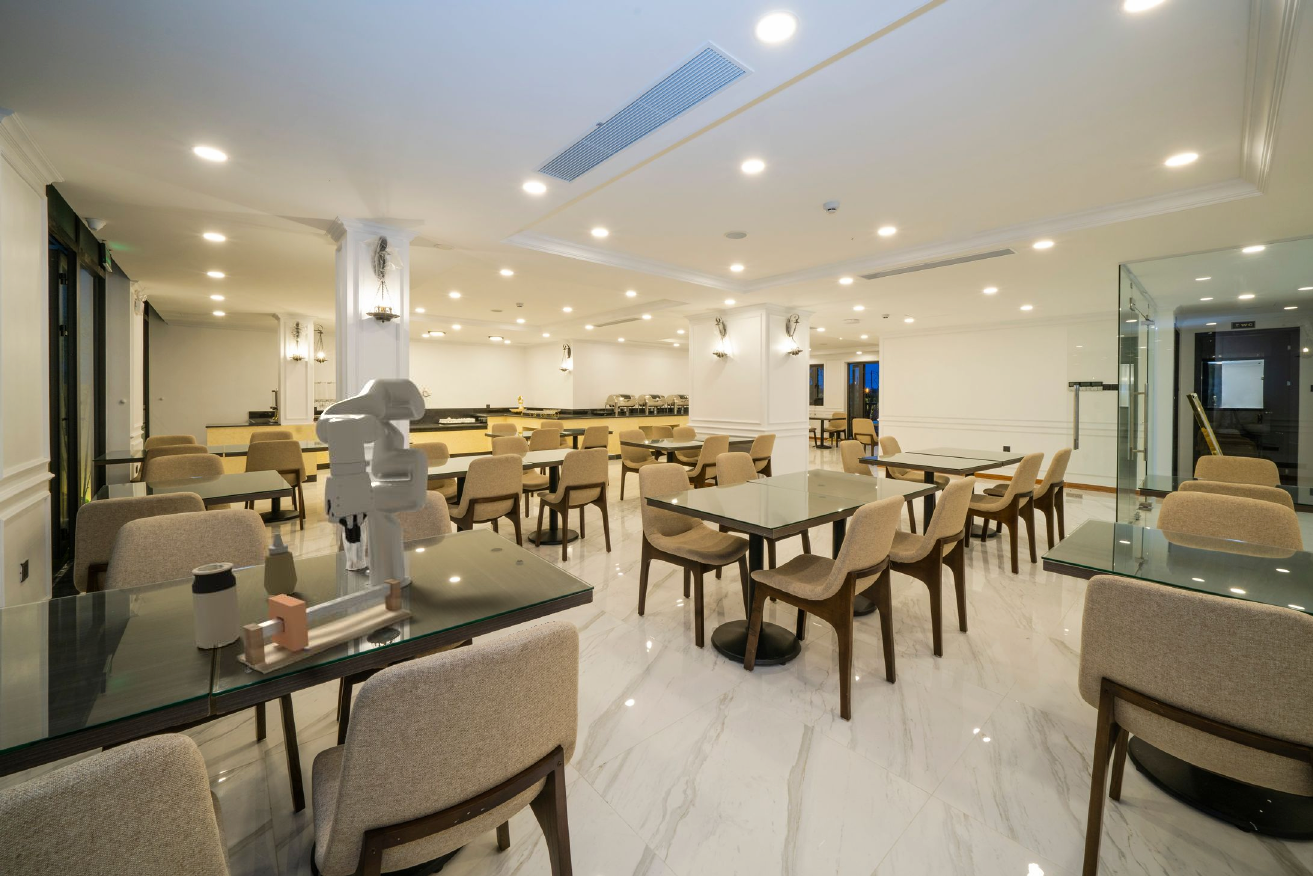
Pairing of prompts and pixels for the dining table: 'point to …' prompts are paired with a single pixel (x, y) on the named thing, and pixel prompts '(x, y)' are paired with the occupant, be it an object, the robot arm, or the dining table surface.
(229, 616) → the travel mug
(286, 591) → the squeeze bottle
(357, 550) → the beer glass
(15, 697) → the dining table surface
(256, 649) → the pipe stand
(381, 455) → the robot arm
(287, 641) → the collar
